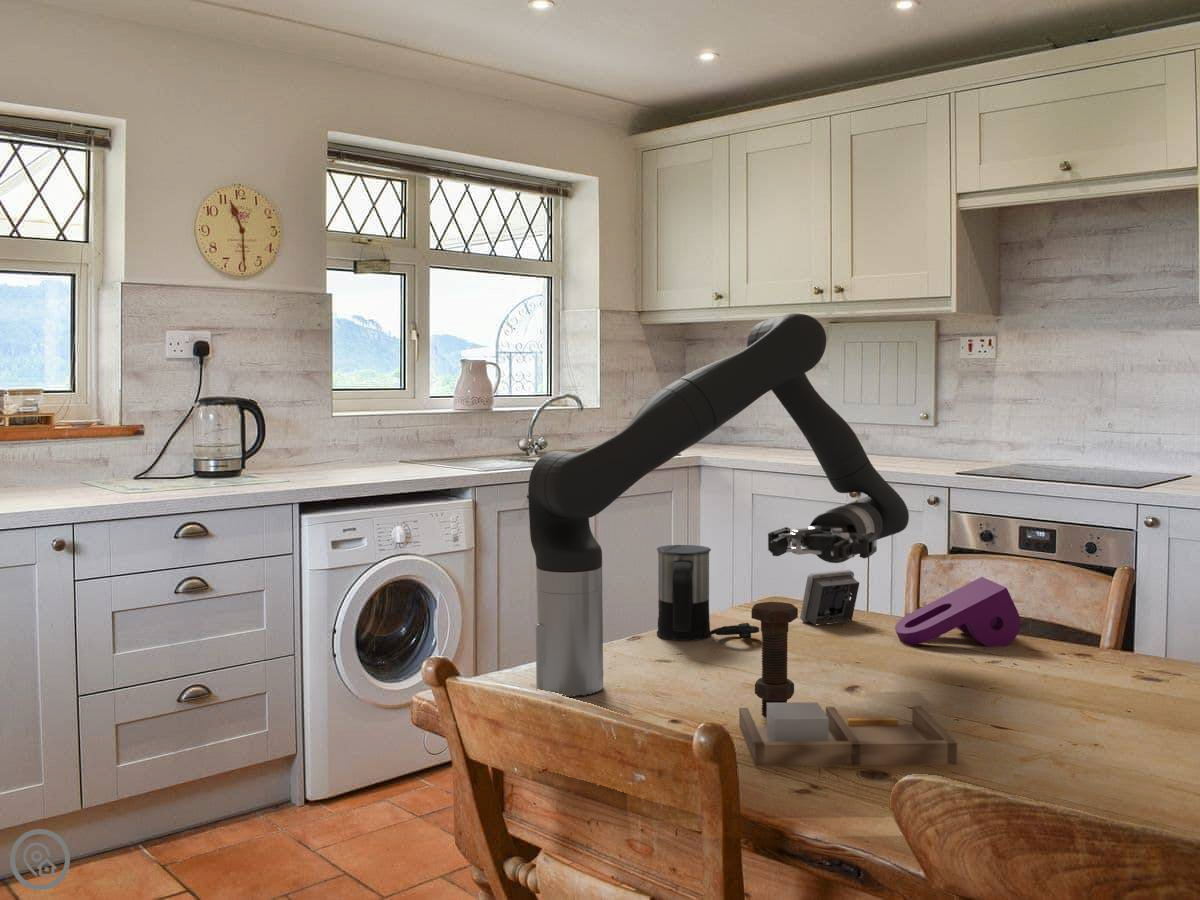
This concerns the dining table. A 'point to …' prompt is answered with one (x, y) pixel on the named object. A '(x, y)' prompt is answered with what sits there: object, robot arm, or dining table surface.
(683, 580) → the milk frother
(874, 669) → the dining table surface
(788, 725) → the grey block
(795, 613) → the bolt
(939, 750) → the tray
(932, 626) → the mounting bracket
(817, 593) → the electrical switch
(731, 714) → the dining table surface
